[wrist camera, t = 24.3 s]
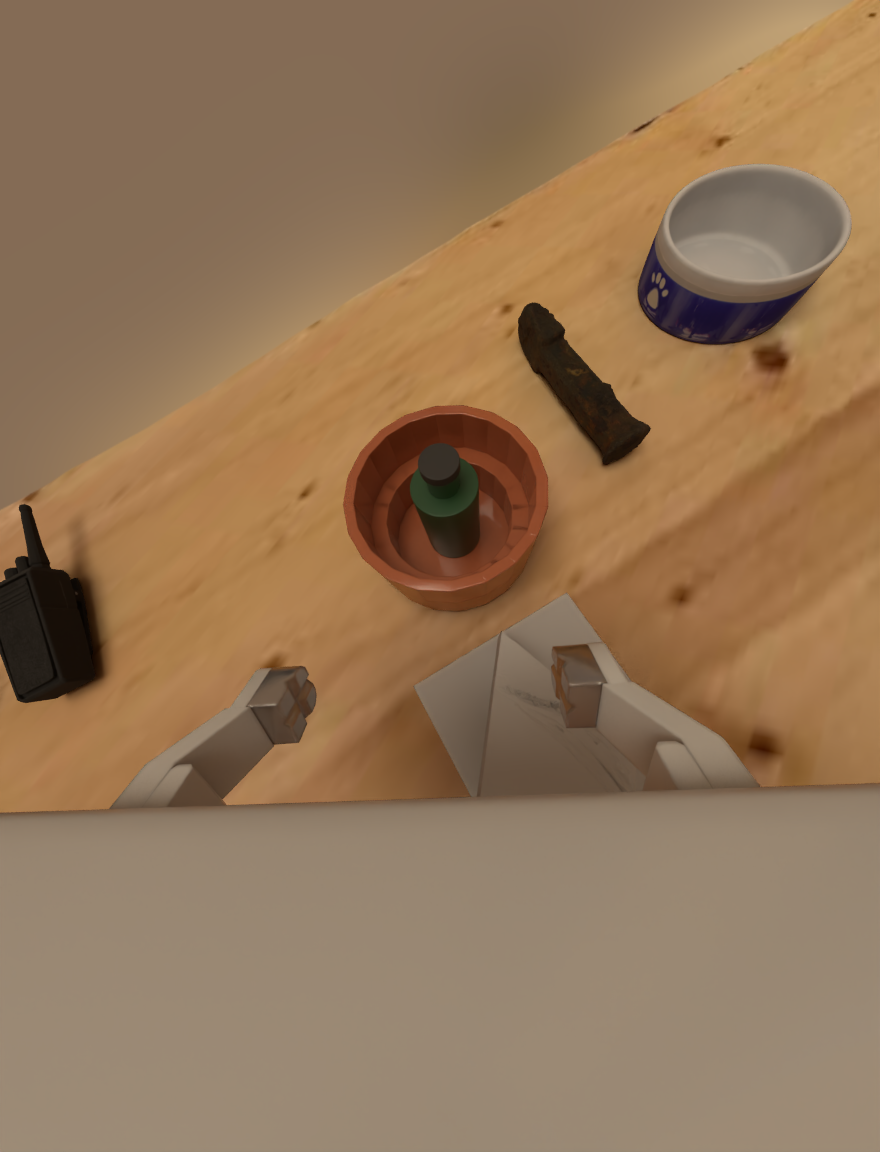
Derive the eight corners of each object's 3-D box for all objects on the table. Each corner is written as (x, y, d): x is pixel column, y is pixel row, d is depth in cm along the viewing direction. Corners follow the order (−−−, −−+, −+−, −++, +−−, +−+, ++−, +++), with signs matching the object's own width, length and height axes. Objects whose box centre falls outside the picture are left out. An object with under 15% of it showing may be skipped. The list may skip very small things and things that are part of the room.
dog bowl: (827, 308, 34) (898, 234, 28) (685, 368, 34) (727, 307, 28) (733, 220, 38) (778, 141, 32) (609, 274, 38) (631, 205, 33)
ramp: (827, 951, 22) (936, 1041, 16) (623, 1086, 21) (668, 1222, 16) (566, 593, 30) (583, 577, 24) (413, 686, 29) (398, 690, 24)
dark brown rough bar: (638, 453, 32) (663, 419, 28) (601, 471, 32) (620, 440, 28) (540, 327, 38) (548, 281, 33) (508, 342, 38) (512, 298, 33)
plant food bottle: (490, 529, 31) (494, 452, 20) (457, 568, 31) (443, 511, 19) (451, 501, 33) (434, 414, 21) (419, 538, 32) (384, 468, 21)
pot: (562, 524, 31) (591, 470, 23) (463, 645, 30) (455, 637, 21) (444, 446, 35) (431, 375, 27) (350, 550, 33) (304, 509, 25)
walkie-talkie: (16, 712, 31) (-23, 530, 35) (108, 684, 35) (64, 525, 39) (-7, 699, 27) (-48, 494, 31) (101, 669, 31) (53, 493, 35)
